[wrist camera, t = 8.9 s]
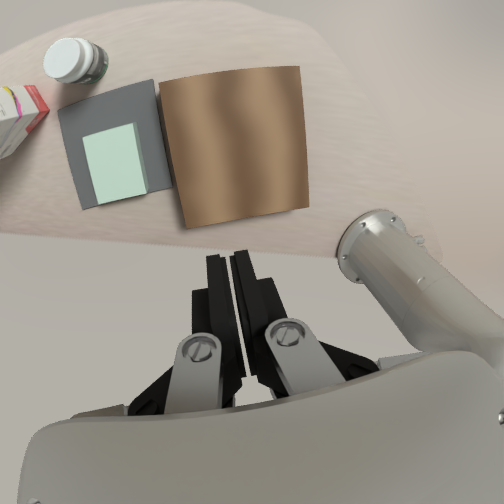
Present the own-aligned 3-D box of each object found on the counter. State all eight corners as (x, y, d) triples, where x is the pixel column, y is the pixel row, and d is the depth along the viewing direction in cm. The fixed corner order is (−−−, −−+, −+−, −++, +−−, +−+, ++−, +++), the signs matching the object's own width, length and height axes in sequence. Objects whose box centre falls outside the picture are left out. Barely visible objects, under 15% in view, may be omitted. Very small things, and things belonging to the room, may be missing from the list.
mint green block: (82, 137, 25) (88, 135, 27) (98, 204, 29) (103, 198, 31) (132, 123, 26) (136, 122, 27) (146, 193, 30) (149, 188, 31)
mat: (153, 79, 26) (152, 78, 25) (172, 186, 32) (172, 187, 32) (58, 110, 24) (57, 110, 24) (83, 208, 31) (82, 209, 31)
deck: (287, 69, 28) (299, 65, 24) (298, 195, 36) (309, 207, 32) (163, 85, 26) (158, 82, 23) (187, 215, 34) (186, 229, 31)
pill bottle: (67, 80, 23) (31, 77, 16) (83, 43, 21) (52, 30, 14) (99, 89, 25) (69, 87, 17) (116, 51, 23) (92, 37, 16)
